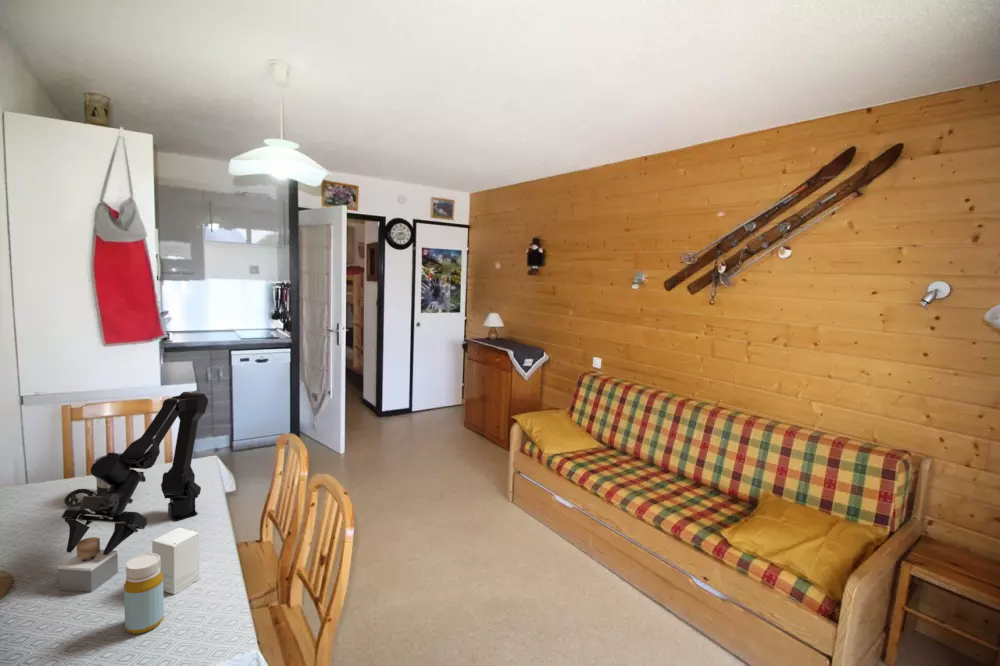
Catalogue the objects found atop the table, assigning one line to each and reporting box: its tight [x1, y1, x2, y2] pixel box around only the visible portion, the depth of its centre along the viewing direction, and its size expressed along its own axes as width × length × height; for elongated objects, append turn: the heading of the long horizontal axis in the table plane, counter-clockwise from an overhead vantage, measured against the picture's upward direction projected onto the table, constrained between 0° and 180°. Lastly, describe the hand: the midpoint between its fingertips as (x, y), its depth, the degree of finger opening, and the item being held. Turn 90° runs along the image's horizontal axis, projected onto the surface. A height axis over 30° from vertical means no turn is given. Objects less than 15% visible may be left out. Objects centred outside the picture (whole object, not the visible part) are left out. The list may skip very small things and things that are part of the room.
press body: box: [58, 549, 119, 593], centre depth 124 cm, size 8×8×6 cm
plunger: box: [76, 536, 101, 561], centre depth 123 cm, size 4×4×9 cm
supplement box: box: [151, 527, 201, 595], centre depth 124 cm, size 7×7×13 cm
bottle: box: [123, 553, 165, 635], centre depth 110 cm, size 7×7×15 cm
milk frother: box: [63, 452, 123, 508], centre depth 163 cm, size 14×16×15 cm
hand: (86, 553), depth 122 cm, fingers open, 9 cm apart
